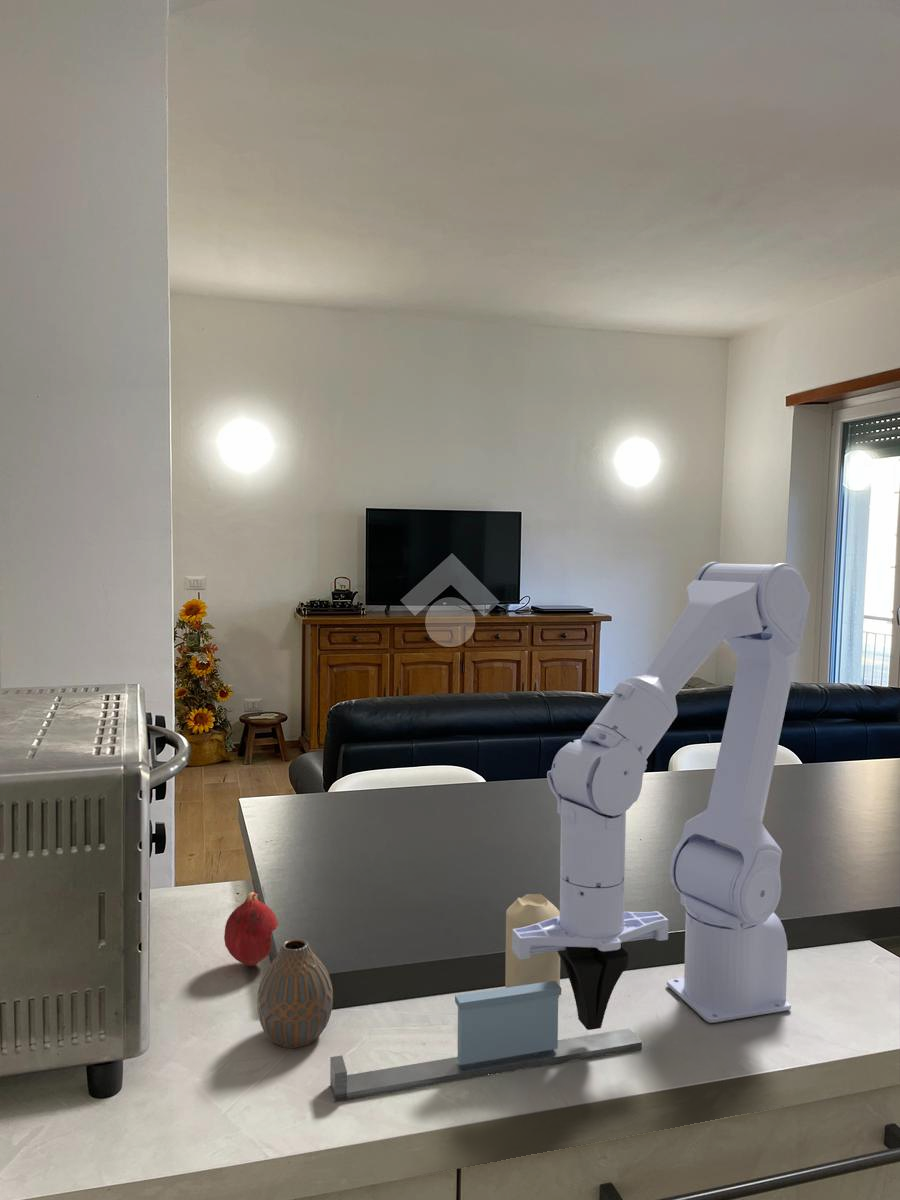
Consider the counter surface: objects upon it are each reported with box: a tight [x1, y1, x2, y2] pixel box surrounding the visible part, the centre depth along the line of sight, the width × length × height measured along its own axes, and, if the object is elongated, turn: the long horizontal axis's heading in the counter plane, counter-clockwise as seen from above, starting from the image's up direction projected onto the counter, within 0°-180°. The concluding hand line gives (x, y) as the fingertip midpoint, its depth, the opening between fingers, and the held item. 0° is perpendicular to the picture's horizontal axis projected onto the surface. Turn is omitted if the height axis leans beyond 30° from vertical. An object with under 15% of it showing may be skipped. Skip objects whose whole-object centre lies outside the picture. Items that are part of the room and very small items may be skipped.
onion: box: [223, 891, 279, 967], centre depth 94 cm, size 6×6×8 cm
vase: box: [256, 938, 334, 1049], centre depth 81 cm, size 7×7×9 cm
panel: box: [454, 981, 562, 1065], centre depth 77 cm, size 9×1×6 cm, turn 106°
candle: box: [504, 893, 561, 998], centre depth 89 cm, size 6×6×10 cm
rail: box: [329, 1028, 643, 1103], centre depth 76 cm, size 28×2×2 cm, turn 106°
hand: (589, 1023), depth 79 cm, fingers closed
